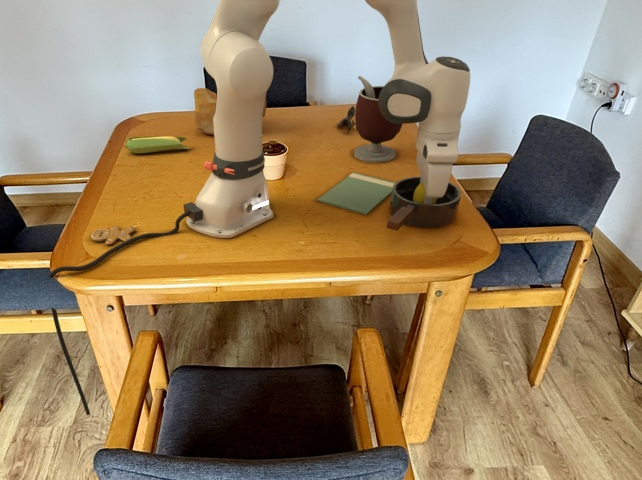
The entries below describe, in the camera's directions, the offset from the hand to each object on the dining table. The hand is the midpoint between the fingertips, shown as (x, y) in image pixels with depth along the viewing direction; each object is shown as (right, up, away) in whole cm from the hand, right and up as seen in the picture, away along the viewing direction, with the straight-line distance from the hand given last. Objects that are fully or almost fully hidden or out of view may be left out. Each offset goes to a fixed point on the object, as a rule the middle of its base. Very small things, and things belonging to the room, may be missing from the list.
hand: (424, 198), depth 128 cm
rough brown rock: (-49, +38, +50) cm, 80 cm away
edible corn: (-71, +25, +36) cm, 83 cm away
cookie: (-75, -10, -2) cm, 75 cm away
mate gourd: (-6, +23, +31) cm, 39 cm away
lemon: (0, -3, +3) cm, 4 cm away
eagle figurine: (-11, +37, +47) cm, 60 cm away
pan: (0, -3, +3) cm, 4 cm away
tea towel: (-13, +5, +12) cm, 19 cm away
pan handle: (-8, -7, -8) cm, 13 cm away
